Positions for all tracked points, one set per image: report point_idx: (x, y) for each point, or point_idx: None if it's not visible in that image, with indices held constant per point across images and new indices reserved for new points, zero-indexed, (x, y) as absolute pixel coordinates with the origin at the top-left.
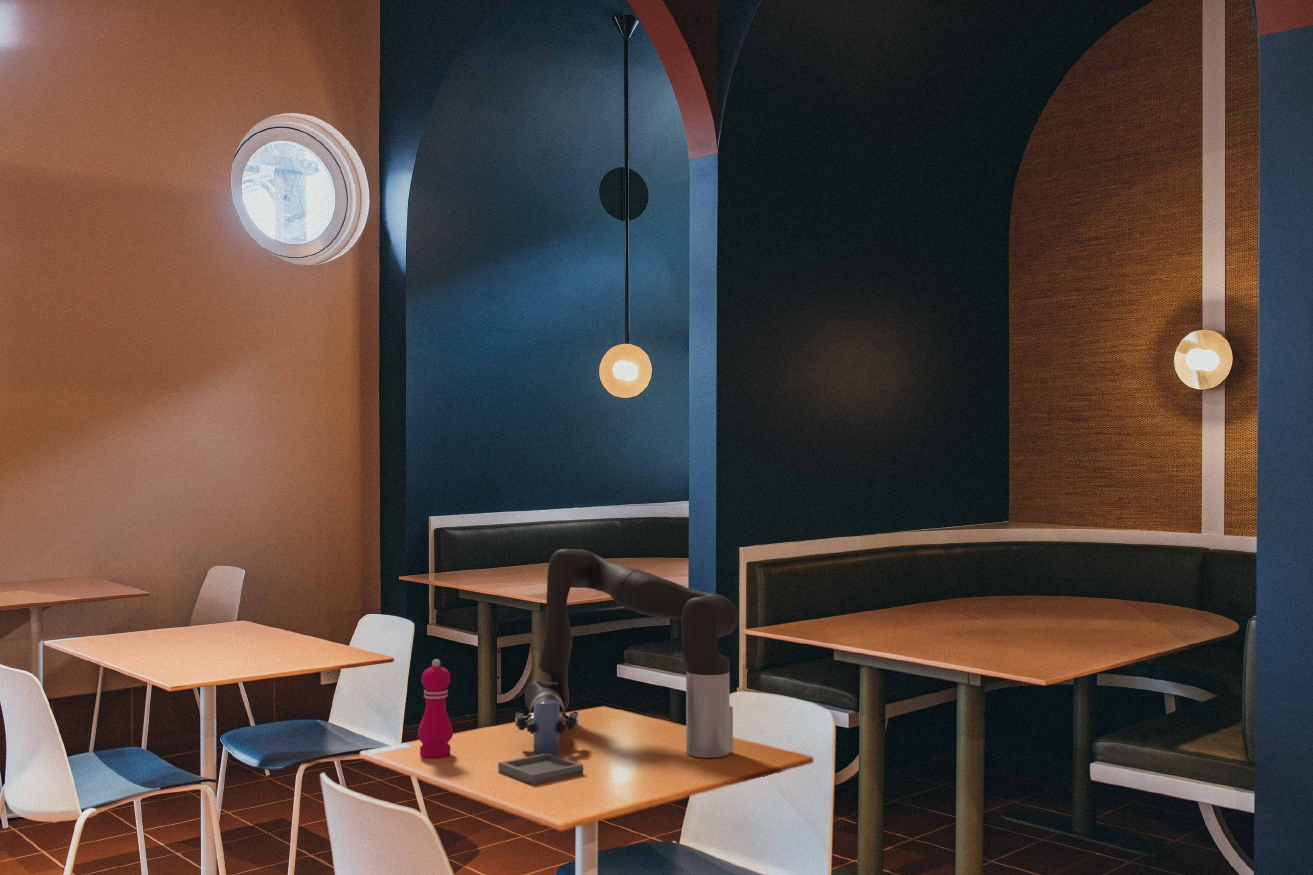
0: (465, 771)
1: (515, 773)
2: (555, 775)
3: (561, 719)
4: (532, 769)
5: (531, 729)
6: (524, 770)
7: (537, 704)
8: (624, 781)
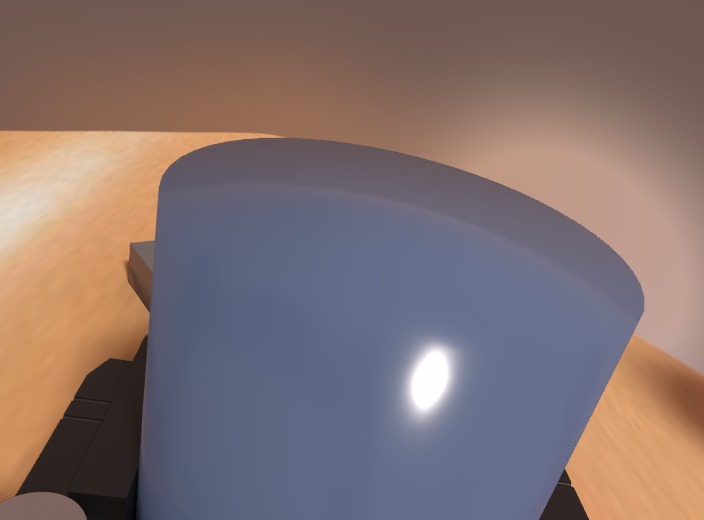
0: (675, 418)
1: None
2: None
3: (92, 475)
4: None
5: None
6: None
7: (509, 196)
8: (4, 197)
